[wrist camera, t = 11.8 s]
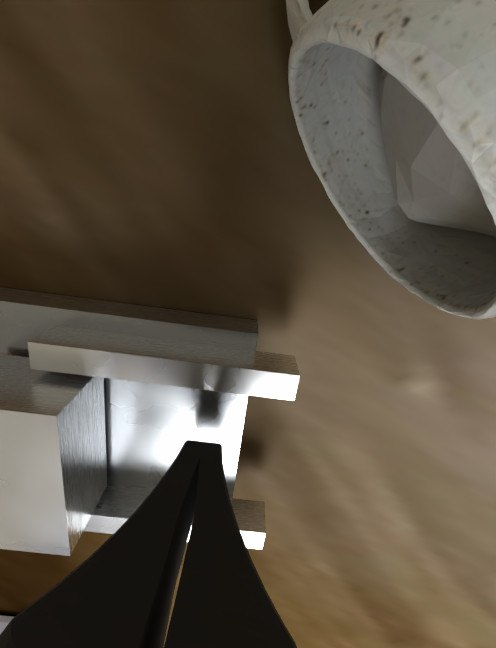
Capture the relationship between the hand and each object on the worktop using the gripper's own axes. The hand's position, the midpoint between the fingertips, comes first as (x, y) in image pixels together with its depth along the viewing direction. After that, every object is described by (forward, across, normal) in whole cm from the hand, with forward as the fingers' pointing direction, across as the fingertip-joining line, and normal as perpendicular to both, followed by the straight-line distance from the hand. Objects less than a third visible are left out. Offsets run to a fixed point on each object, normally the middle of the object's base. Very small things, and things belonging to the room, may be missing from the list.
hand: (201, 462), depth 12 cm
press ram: (+1, +6, 0) cm, 6 cm away
